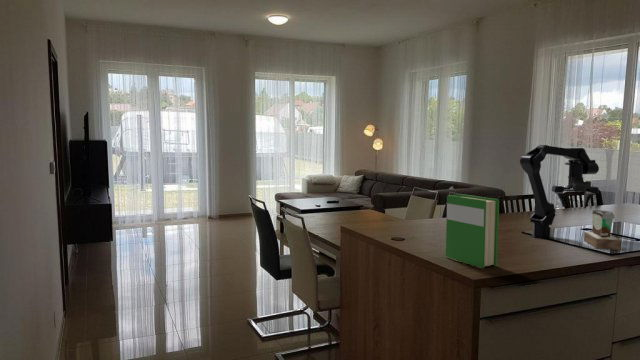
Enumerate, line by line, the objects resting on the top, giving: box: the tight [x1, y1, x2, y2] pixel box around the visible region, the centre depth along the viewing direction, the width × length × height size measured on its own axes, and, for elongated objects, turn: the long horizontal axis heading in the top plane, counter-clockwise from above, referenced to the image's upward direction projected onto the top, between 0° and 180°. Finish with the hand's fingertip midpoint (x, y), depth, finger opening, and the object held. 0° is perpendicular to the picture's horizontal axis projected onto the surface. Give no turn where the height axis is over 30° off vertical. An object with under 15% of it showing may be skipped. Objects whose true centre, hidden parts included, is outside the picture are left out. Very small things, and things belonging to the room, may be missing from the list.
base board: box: [583, 231, 622, 251], centre depth 192 cm, size 9×15×4 cm, turn 167°
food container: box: [591, 209, 615, 237], centre depth 191 cm, size 12×6×10 cm, turn 168°
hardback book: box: [445, 194, 500, 269], centre depth 165 cm, size 18×7×24 cm, turn 28°
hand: (574, 207), depth 212 cm, fingers open, 9 cm apart
